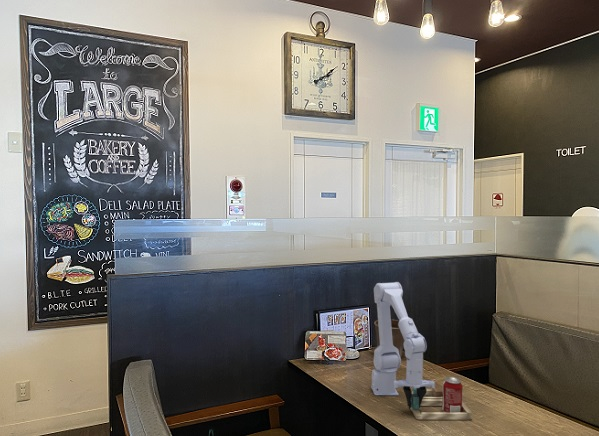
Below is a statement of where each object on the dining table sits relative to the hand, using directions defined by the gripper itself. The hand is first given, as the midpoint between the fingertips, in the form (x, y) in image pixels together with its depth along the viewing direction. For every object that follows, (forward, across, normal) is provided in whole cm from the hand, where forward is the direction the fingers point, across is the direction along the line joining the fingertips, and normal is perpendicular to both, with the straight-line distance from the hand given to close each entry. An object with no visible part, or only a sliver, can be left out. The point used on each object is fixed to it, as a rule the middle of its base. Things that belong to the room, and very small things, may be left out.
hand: (413, 406), depth 166 cm
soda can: (+2, +14, 0) cm, 14 cm away
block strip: (+2, +10, +11) cm, 15 cm away
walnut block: (+2, +13, +11) cm, 17 cm away
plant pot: (+2, +5, +62) cm, 62 cm away
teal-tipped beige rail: (+2, +9, 0) cm, 9 cm away
